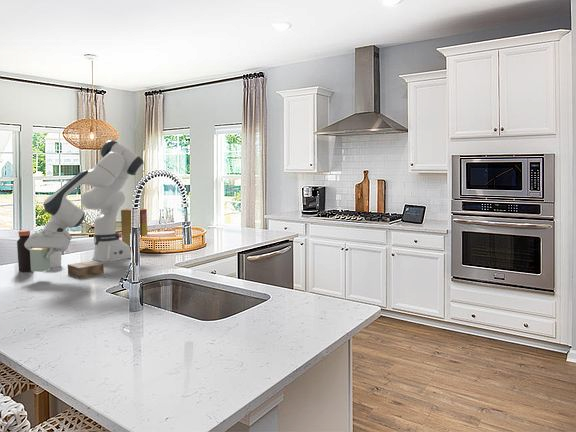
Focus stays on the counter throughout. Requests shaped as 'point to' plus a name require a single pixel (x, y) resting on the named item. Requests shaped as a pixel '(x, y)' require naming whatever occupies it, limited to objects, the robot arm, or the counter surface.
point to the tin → (39, 259)
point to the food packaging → (127, 224)
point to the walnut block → (85, 269)
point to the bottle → (23, 252)
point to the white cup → (55, 260)
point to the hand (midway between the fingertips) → (39, 257)
